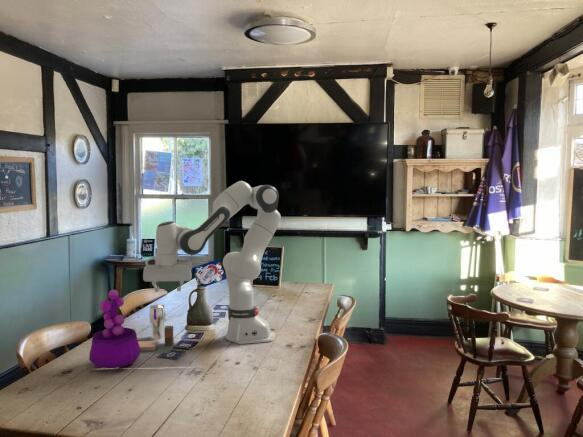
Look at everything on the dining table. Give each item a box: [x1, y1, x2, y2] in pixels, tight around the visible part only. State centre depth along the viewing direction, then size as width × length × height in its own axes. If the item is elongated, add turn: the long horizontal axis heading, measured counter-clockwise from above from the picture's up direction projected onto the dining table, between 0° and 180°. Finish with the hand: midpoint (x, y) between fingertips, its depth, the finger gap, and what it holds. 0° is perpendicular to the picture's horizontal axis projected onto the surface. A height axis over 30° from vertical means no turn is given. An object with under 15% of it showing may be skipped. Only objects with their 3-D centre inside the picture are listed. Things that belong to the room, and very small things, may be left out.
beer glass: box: [148, 304, 166, 341], centre depth 218 cm, size 7×7×15 cm
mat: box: [140, 342, 175, 355], centre depth 205 cm, size 18×12×1 cm, turn 93°
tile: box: [138, 340, 159, 351], centre depth 205 cm, size 2×7×9 cm
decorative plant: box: [88, 289, 141, 369], centre depth 188 cm, size 19×18×30 cm
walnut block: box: [164, 325, 175, 347], centre depth 209 cm, size 3×3×8 cm
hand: (168, 291), depth 207 cm, fingers open, 8 cm apart
